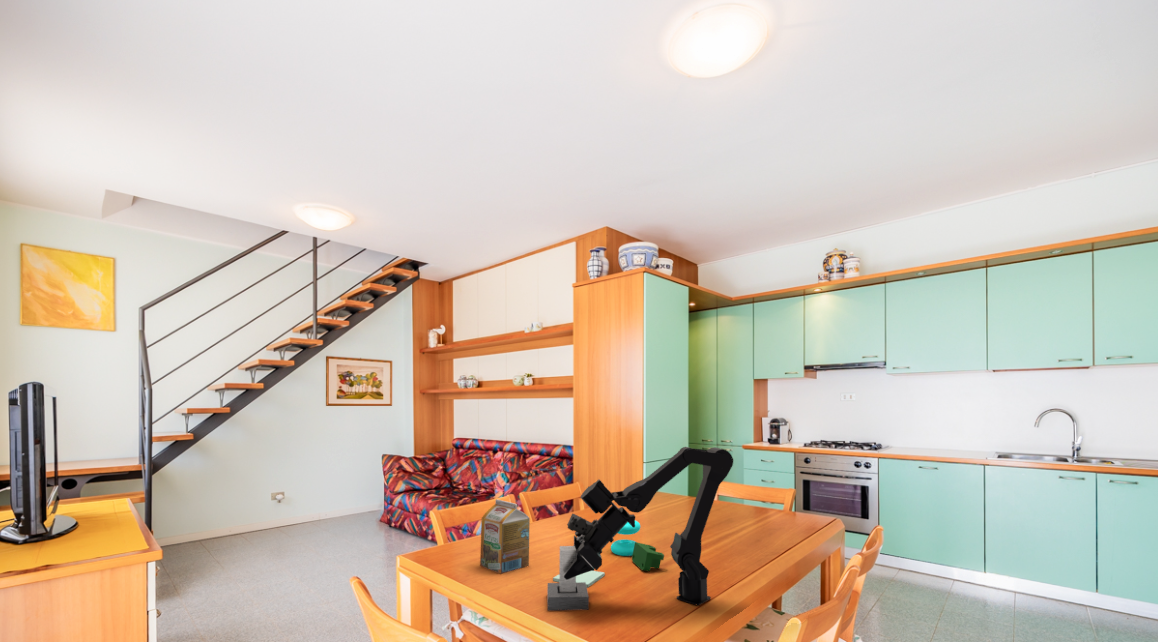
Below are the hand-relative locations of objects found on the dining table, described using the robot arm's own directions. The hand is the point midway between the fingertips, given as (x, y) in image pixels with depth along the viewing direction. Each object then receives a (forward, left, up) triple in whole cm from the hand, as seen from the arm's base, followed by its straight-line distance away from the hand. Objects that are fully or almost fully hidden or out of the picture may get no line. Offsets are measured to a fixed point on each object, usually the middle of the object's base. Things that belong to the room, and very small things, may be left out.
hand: (564, 571), depth 134 cm
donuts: (+15, -45, -7) cm, 48 cm away
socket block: (-1, -1, -7) cm, 7 cm away
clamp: (+2, -38, -8) cm, 39 cm away
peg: (-1, -1, -7) cm, 7 cm away
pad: (+9, -16, -7) cm, 20 cm away
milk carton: (+33, -8, -7) cm, 35 cm away
